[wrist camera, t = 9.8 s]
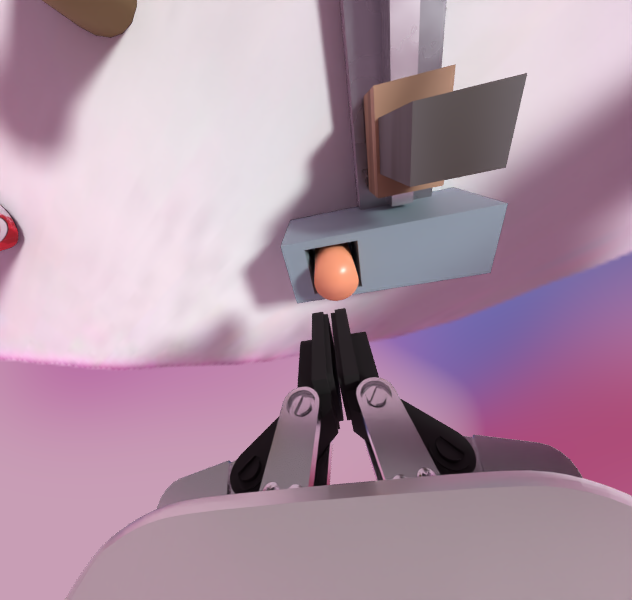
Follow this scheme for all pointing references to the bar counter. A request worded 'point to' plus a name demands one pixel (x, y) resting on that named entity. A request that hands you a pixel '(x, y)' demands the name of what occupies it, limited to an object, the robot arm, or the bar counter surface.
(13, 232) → the beverage can
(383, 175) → the carriage
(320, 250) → the button
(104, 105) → the bar counter surface
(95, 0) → the cork
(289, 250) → the cabinet
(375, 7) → the rail
